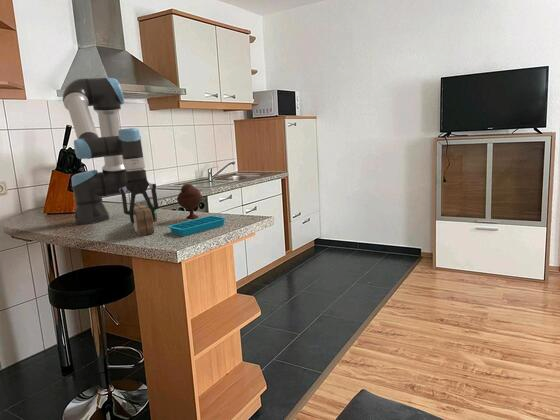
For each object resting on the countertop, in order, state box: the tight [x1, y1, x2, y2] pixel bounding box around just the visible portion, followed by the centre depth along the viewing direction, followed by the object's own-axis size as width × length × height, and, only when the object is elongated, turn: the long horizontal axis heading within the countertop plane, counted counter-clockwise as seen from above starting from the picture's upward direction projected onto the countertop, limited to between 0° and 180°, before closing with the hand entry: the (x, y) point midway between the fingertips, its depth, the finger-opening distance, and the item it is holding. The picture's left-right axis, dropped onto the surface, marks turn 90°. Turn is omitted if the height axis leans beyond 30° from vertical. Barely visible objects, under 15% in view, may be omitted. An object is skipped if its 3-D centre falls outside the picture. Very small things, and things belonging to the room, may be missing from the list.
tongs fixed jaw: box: [132, 203, 148, 237], centre depth 168 cm, size 21×4×10 cm, turn 27°
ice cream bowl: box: [176, 183, 203, 220], centre depth 184 cm, size 11×11×15 cm
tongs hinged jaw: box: [137, 204, 155, 235], centre depth 168 cm, size 17×2×9 cm, turn 27°
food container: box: [135, 196, 158, 223], centre depth 185 cm, size 12×6×10 cm, turn 168°
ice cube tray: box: [167, 215, 227, 237], centre depth 163 cm, size 12×20×3 cm, turn 132°
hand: (144, 229), depth 165 cm, fingers open, 5 cm apart
